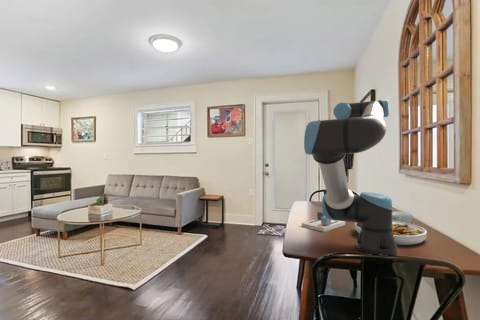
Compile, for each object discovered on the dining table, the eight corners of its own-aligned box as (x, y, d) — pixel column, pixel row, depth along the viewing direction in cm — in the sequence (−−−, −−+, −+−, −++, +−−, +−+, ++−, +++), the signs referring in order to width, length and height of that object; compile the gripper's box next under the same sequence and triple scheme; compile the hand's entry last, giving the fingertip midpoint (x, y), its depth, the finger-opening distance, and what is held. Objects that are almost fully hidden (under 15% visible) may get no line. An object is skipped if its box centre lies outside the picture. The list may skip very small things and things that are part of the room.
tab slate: (326, 225, 137) (326, 218, 137) (321, 224, 139) (321, 217, 139) (331, 224, 139) (331, 217, 139) (325, 223, 142) (325, 216, 142)
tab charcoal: (322, 219, 150) (322, 213, 150) (317, 218, 152) (317, 212, 152) (326, 218, 152) (326, 212, 152) (321, 217, 155) (321, 211, 155)
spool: (406, 217, 149) (407, 204, 145) (417, 229, 141) (417, 215, 136) (382, 222, 151) (382, 209, 146) (391, 234, 142) (391, 221, 138)
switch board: (323, 231, 133) (323, 227, 133) (301, 226, 144) (301, 222, 144) (345, 224, 147) (345, 221, 147) (324, 220, 158) (324, 216, 158)
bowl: (412, 230, 135) (412, 215, 135) (439, 250, 106) (439, 231, 106) (351, 227, 143) (350, 213, 143) (361, 244, 114) (360, 227, 114)
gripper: (346, 136, 134) (346, 181, 134) (332, 134, 126) (332, 182, 126) (360, 135, 128) (360, 182, 128) (347, 133, 120) (347, 183, 120)
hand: (346, 182), depth 127 cm, fingers closed
